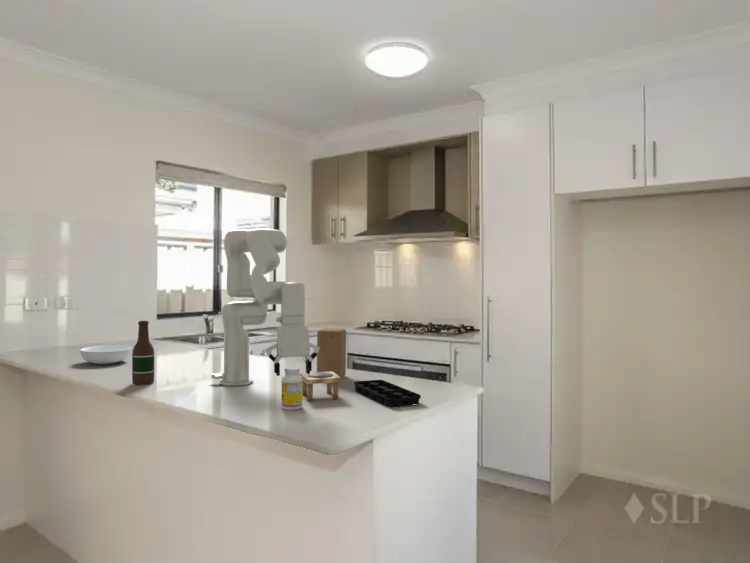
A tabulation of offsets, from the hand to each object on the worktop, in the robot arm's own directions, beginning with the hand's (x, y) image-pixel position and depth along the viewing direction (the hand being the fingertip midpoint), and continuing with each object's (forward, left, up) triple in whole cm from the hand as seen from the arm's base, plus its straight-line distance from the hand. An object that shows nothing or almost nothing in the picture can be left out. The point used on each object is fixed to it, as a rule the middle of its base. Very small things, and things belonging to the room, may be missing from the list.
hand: (293, 374), depth 170 cm
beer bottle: (-48, +53, -11) cm, 72 cm away
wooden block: (+24, +44, -11) cm, 51 cm away
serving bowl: (-68, +105, -11) cm, 125 cm away
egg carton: (+34, +6, -12) cm, 36 cm away
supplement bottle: (0, +1, -11) cm, 11 cm away
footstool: (+12, +13, -11) cm, 20 cm away
